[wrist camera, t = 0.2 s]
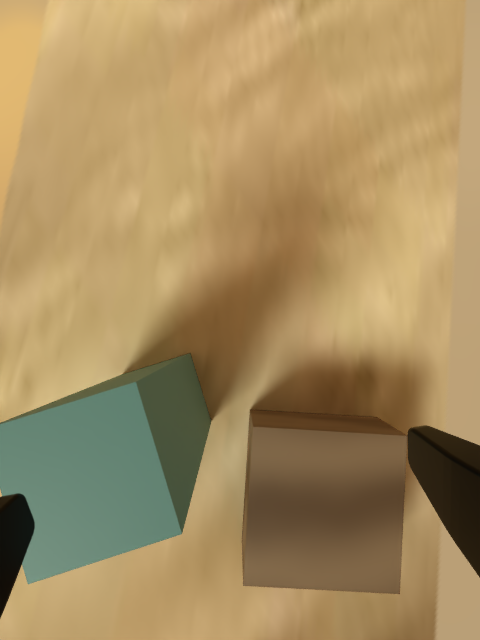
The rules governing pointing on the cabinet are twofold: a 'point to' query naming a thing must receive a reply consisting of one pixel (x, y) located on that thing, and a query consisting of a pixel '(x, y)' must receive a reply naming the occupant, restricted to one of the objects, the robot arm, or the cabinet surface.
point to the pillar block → (107, 465)
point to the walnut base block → (323, 502)
